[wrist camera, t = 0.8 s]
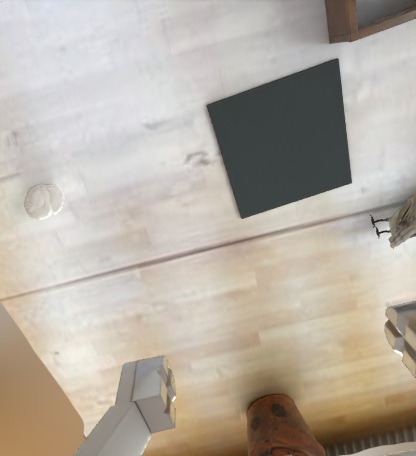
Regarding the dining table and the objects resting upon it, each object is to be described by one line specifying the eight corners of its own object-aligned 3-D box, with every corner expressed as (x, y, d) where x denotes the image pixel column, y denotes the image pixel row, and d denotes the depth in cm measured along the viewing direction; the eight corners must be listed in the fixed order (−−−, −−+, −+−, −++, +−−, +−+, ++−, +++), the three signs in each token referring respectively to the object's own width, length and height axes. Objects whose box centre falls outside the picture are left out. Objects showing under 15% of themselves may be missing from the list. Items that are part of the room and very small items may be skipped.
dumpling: (42, 216, 54) (26, 224, 50) (28, 187, 52) (10, 193, 48) (77, 206, 52) (63, 214, 48) (64, 176, 50) (48, 181, 47)
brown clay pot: (312, 382, 80) (345, 461, 64) (296, 429, 89) (321, 508, 73) (243, 383, 78) (260, 465, 62) (234, 431, 87) (246, 513, 71)
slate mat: (206, 105, 47) (206, 105, 47) (337, 58, 46) (338, 58, 45) (241, 217, 57) (241, 219, 56) (350, 182, 55) (352, 183, 55)
